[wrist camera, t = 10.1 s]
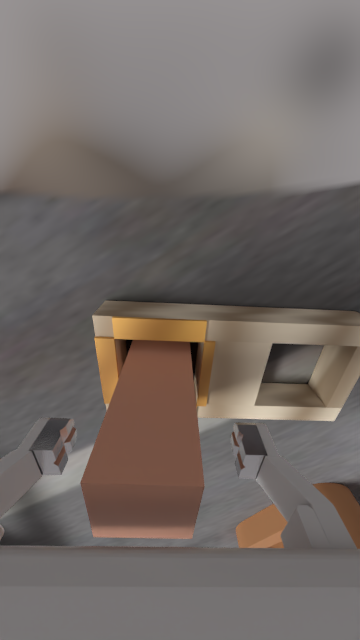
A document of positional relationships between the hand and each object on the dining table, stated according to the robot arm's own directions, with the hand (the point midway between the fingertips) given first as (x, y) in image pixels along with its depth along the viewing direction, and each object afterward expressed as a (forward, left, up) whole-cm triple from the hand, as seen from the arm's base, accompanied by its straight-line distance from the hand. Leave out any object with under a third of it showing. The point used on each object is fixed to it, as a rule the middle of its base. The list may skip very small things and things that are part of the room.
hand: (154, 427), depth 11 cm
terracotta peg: (0, 0, -7) cm, 7 cm away
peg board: (-3, +3, -7) cm, 8 cm away
